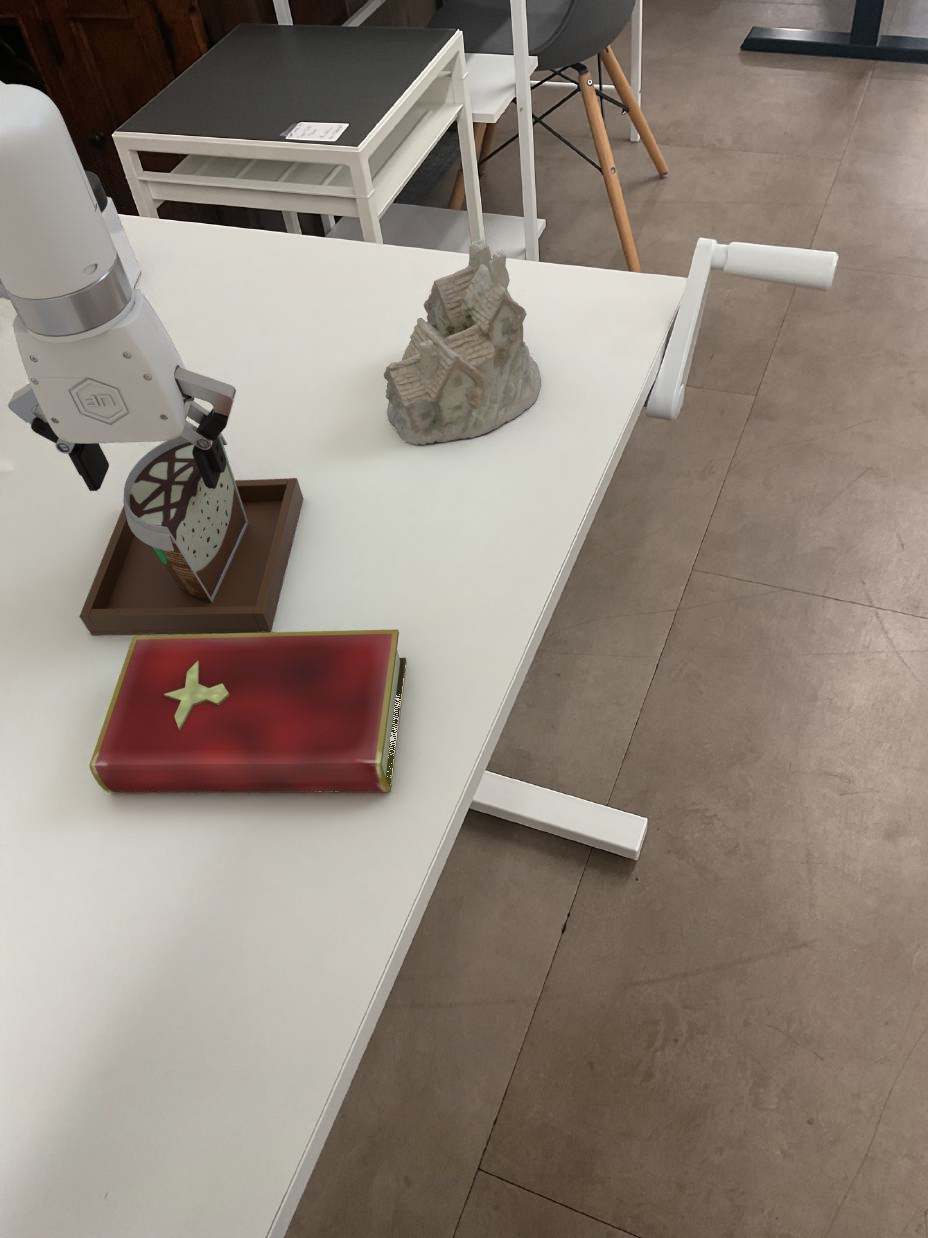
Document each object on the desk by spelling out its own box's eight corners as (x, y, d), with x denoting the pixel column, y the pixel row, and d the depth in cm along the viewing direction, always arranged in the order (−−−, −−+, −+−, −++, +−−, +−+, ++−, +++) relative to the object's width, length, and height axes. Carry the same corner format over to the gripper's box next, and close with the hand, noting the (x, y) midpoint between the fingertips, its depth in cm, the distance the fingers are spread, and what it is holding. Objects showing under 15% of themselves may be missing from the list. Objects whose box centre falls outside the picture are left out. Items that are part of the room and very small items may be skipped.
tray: (91, 635, 84) (78, 616, 82) (141, 503, 94) (131, 483, 92) (270, 632, 82) (262, 613, 80) (303, 497, 92) (296, 477, 90)
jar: (83, 266, 123) (39, 171, 113) (147, 261, 122) (108, 164, 112) (61, 309, 117) (13, 213, 108) (128, 304, 116) (86, 206, 107)
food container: (191, 507, 92) (152, 421, 85) (253, 510, 91) (220, 424, 83) (138, 610, 85) (90, 527, 77) (205, 616, 84) (164, 532, 76)
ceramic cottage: (509, 317, 105) (487, 185, 93) (562, 416, 95) (545, 282, 83) (367, 364, 105) (327, 237, 93) (406, 468, 95) (366, 341, 83)
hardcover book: (390, 797, 71) (379, 766, 68) (109, 797, 74) (86, 768, 71) (406, 660, 79) (397, 627, 76) (151, 665, 82) (131, 633, 78)
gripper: (-71, 330, 66) (40, 513, 79) (182, 319, 64) (252, 509, 77) (-29, 265, 71) (70, 448, 84) (209, 253, 69) (271, 443, 82)
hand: (157, 477), depth 81 cm, fingers open, 9 cm apart
